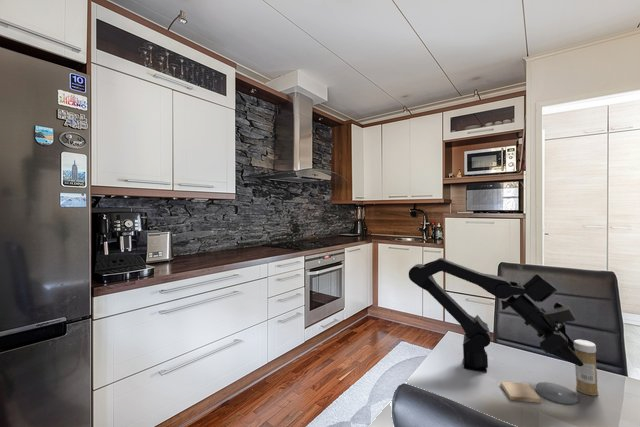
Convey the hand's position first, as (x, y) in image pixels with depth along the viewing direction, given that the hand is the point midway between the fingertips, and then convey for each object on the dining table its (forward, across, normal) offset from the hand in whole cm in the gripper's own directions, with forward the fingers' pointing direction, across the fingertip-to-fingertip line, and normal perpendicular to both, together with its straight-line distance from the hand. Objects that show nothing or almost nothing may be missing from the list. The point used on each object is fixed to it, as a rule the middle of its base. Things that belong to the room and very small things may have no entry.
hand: (580, 358), depth 80 cm
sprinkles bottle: (+7, 0, +6) cm, 9 cm away
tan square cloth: (-4, -11, +16) cm, 20 cm away
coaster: (+2, -6, +10) cm, 12 cm away
